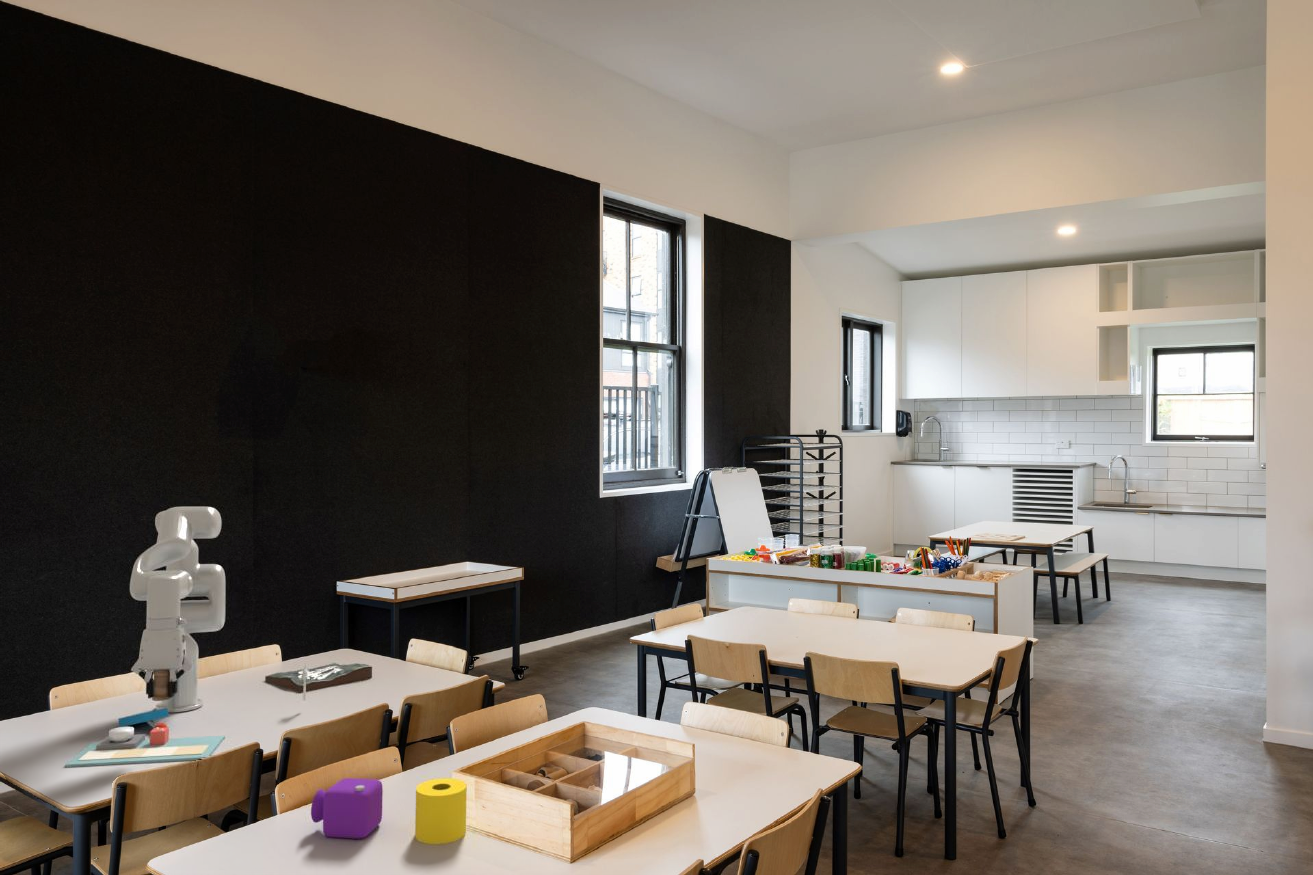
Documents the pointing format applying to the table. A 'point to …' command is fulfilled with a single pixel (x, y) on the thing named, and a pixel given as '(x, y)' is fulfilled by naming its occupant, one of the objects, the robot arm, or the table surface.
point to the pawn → (161, 685)
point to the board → (146, 749)
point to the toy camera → (349, 808)
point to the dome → (121, 734)
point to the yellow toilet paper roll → (440, 811)
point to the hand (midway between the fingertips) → (161, 695)
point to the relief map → (320, 677)
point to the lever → (145, 718)
